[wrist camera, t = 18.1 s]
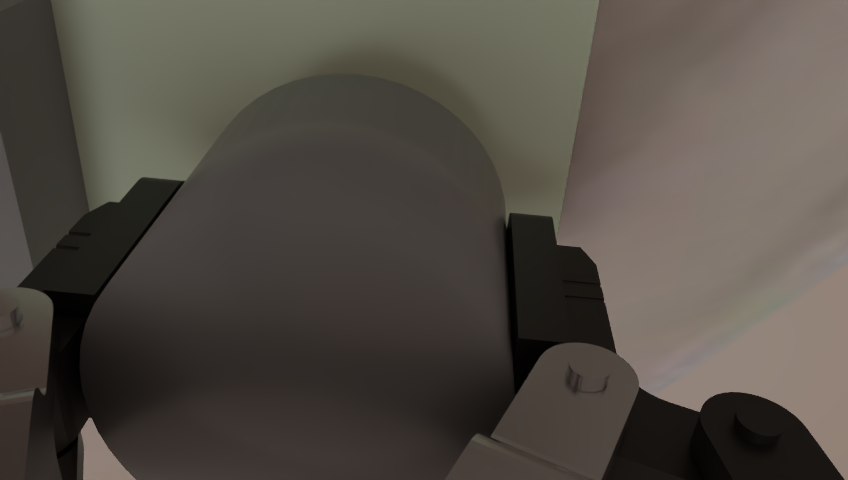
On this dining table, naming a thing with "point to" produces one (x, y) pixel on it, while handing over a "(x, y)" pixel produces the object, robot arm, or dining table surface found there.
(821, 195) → the dining table surface
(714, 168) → the dining table surface
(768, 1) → the dining table surface
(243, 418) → the grey rounded cylinder
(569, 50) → the lid
